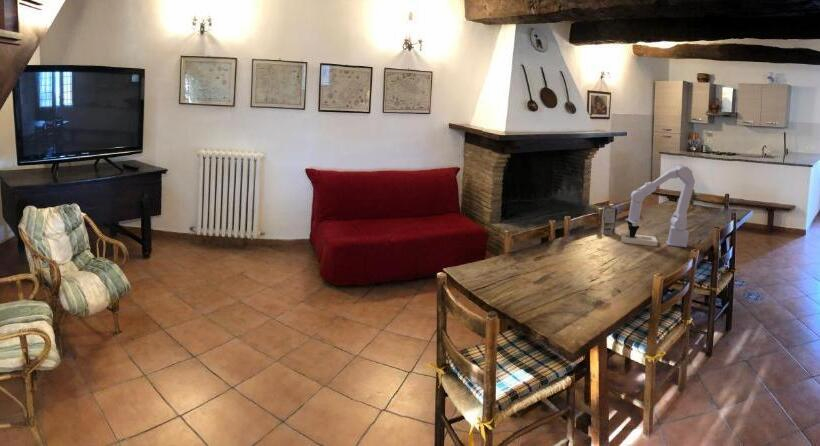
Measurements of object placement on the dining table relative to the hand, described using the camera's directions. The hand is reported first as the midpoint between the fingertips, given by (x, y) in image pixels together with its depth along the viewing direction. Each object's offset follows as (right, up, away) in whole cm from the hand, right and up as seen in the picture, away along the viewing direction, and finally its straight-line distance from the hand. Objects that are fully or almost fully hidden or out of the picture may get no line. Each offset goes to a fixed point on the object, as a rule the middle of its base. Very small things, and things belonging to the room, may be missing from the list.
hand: (631, 235), depth 284 cm
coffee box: (-8, +1, +14) cm, 17 cm away
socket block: (+4, -3, 0) cm, 5 cm away
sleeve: (0, -3, +1) cm, 3 cm away
